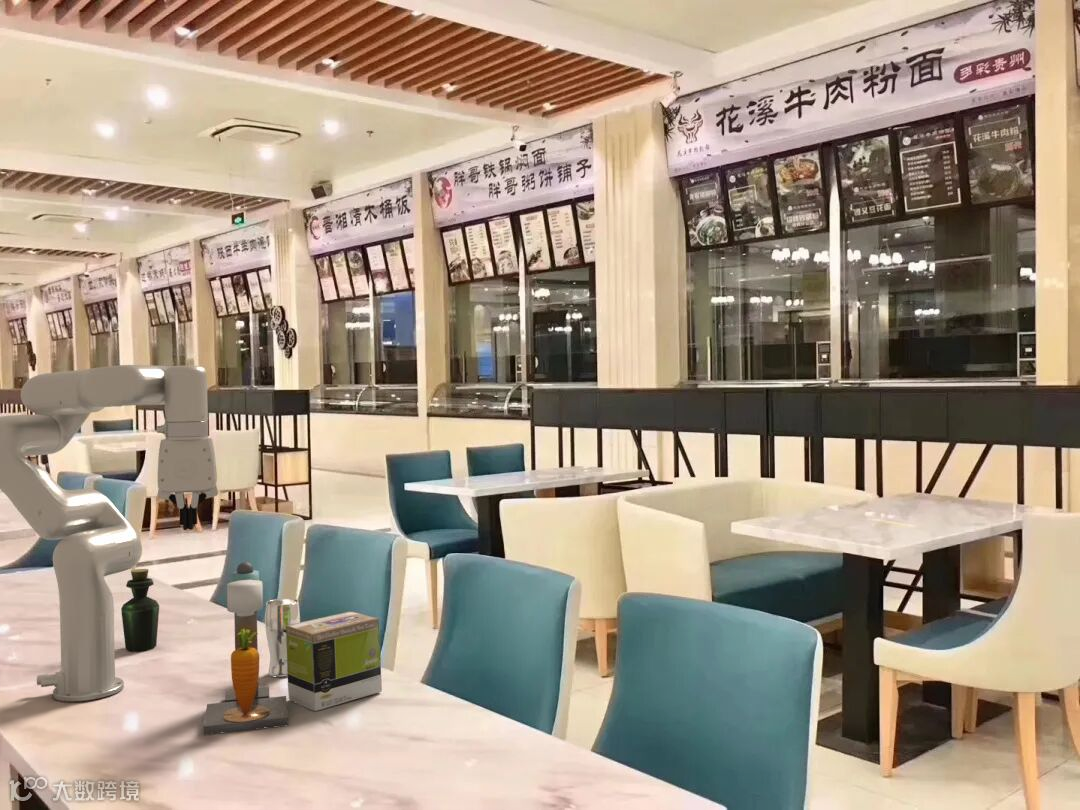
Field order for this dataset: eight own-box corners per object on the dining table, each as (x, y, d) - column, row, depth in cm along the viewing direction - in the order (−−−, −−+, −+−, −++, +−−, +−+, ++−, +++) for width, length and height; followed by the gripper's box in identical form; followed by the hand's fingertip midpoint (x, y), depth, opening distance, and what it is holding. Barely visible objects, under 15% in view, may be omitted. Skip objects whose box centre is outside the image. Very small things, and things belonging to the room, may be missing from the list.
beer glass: (291, 679, 190) (290, 605, 190) (259, 677, 191) (258, 604, 191) (306, 669, 197) (305, 598, 196) (276, 667, 198) (274, 597, 198)
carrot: (235, 708, 167) (234, 625, 167) (263, 707, 168) (262, 624, 168) (227, 717, 163) (226, 632, 162) (256, 717, 163) (255, 631, 163)
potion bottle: (128, 655, 209) (126, 575, 209) (116, 647, 215) (115, 570, 215) (165, 648, 214) (163, 570, 214) (153, 641, 220) (151, 565, 220)
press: (203, 735, 159) (201, 618, 159) (209, 700, 177) (207, 595, 177) (288, 725, 163) (286, 611, 163) (285, 692, 182) (283, 589, 181)
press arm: (229, 598, 178) (228, 560, 178) (261, 596, 180) (261, 558, 179) (227, 619, 161) (226, 578, 161) (263, 616, 163) (262, 575, 163)
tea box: (353, 682, 187) (352, 609, 187) (382, 693, 180) (381, 617, 180) (286, 700, 177) (284, 623, 177) (314, 713, 170) (312, 632, 169)
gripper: (140, 433, 169) (142, 533, 170) (227, 431, 173) (229, 529, 173) (147, 431, 177) (149, 528, 177) (230, 429, 180) (231, 524, 181)
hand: (188, 528), depth 175 cm, fingers closed
